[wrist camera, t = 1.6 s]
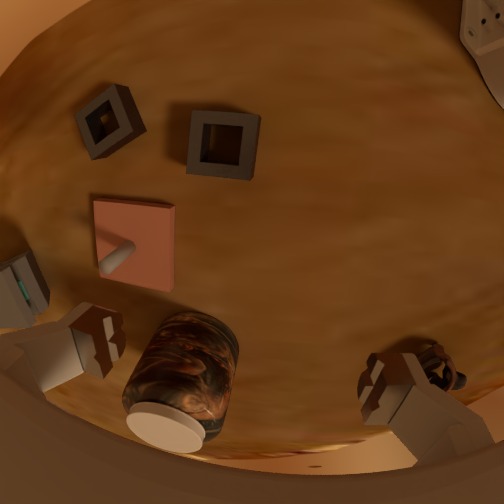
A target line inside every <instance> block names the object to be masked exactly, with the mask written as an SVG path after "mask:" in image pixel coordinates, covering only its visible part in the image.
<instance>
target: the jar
mask: <svg viewBox="0 0 504 504" xmlns="http://www.w3.org/2000/svg"><path fill="white" fill-rule="evenodd" d="M238 355H239V345H238V342H237V339H236V337H235V335H234V334H233V332H232V331H231V330H230V329H229V328H228V327H227V326H226V325H225V324H223V323H222V322H221V321H219V320H217V319H215V318H213V317H211V316H208V315H205V314H202V313H196V312H182V313H177V314H174V315H172V316H170V317H168V318H167V319H165V320H164V321H163V322H162V323H161V325H160V326H159V328H158V329H157V331H156V333H155V334H154V336H153V338H152V339H151V341H150V343H149V344H148V346H147V348H146V349H145V351H144V353H143V355H142V356H141V358H140V360H139V362H138V363H137V365H136V367H135V369H134V371H133V373H132V374H131V376H130V378H129V380H128V382H127V384H126V387H125V389H124V392H123V395H122V403H123V406H124V408H125V410H126V412H127V413H128V416H127V418H126V422H127V425H128V426H129V428H130V429H131V430H132V432H133V433H135V434H136V435H137V436H138V437H139V438H141V439H142V440H144V441H146V442H147V443H149V444H151V445H154V446H156V447H158V448H161V449H164V450H168V451H173V452H179V453H189V452H195V451H197V450H199V449H200V448H201V447H202V444H203V442H206V441H209V440H212V439H213V438H215V437H216V436H217V435H218V434H219V433H220V431H221V429H222V426H223V423H224V420H225V416H226V412H227V408H228V403H229V399H230V394H231V390H232V385H233V380H234V376H235V371H236V366H237V360H238Z"/></svg>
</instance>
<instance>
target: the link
mask: <svg viewBox="0 0 504 504" xmlns="http://www.w3.org/2000/svg"><path fill="white" fill-rule="evenodd" d="M260 122H261V117H260V116H259V115H255V114H245V113H234V112H221V111H202V110H192V116H191V125H190V134H189V144H188V155H187V168H186V174H194V175H205V176H214V177H223V178H232V179H240V180H248V181H251V179H252V178H253V177H254V169H255V162H256V154H257V146H258V138H259V130H260ZM211 125H219V126H232V127H242V128H243V133H242V142H241V150H240V158H239V163H236V162H226V161H217V160H208V152H209V142H210V133H211Z"/></svg>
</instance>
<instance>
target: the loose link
mask: <svg viewBox="0 0 504 504" xmlns="http://www.w3.org/2000/svg"><path fill="white" fill-rule="evenodd" d="M112 109H113V111H114V114H115V116H116V119H117V121H118V124H119V126H120V128H118V129H117V130H115V131H114V132H113V133H111V134H110V135H108V136H107V134H106V132H105V129H104V127H103V124H102V121H101V119H100V118H101V117H102V116H103V115H105V114H106V113H107V112H109V111H110V110H112ZM75 118H76V121H77V123H78V126H79V129H80V132H81V134H82V137H83V140H84V142H85V145H86V147H87V150H88V152H89V155H90V157H91V160H96V159H101V158H106V157H108V156H110V155H111V154H112V153H114V152H115V151H117V150H118V149H120V148H121V147H123V146H124V145H126V144H127V143H129V142H130V141H132V140H134V139H135V138H137V137H138V136H140V135H141V134H143V133H145V132H146V128H145V126H144V124H143V121H142V119H141V117H140V114H139V112H138V109H137V107H136V105H135V102H134V100H133V97H132V95H131V92H130V90H129V87H126V86H122V85H118V84H113V85H112V86H110V87H109V88H107V89H106V90H105V91H104V92H102V93H101V94H100V95H98V96H97V97H96V98H95V99H93V100H92V101H91V102H90V103H88V104H87V105H86V106H85V107H84V108H82V109H81V110H80V111H79V112H78V113H77V114H75Z"/></svg>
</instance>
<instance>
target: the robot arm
mask: <svg viewBox="0 0 504 504" xmlns="http://www.w3.org/2000/svg"><path fill="white" fill-rule="evenodd" d="M460 40H461V42H462V44H463V45H464V47H465V48H466V49H467V50H468V52H469V53H470V54H471V55H472V57H473V58H474V59H475V61H476V63H477V65H478V67H479V69H480V72H481V74H482V76H483V78H484V80H485V82H486V84H487V86H488V88H489V90H490V92H491V93H492V95H493V96H494V98H495V99H496V101H497V102H498V103H499V105H500V106H501V107H502V108H503V109H504V0H463V5H462V17H461V27H460ZM122 324H123V319H122V315H121V314H120V313H119V312H117V311H114V310H111V309H108V308H104V307H101V306H98V305H95V304H91V303H88V302H82V303H80V304H79V305H78V306H76V307H75V308H74V309H73V310H71V311H70V312H69V313H68V314H66V315H65V316H64V317H63V318H62V319H60V320H59V321H58V322H54V321H53V322H49V323H45V324H41V325H37V326H33V327H29V328H25V329H21V330H17V331H13V332H9V333H5V334H1V335H0V504H504V440H503V441H500V442H498V443H495V442H494V440H493V438H492V436H491V434H490V432H489V430H488V428H487V426H486V424H485V422H484V420H483V418H482V417H480V416H479V415H478V414H476V413H475V412H473V411H472V410H471V409H469V408H468V407H466V406H465V405H463V404H462V403H460V402H459V401H458V400H456V399H455V398H453V397H452V396H450V395H449V394H448V393H446V392H445V391H443V390H442V389H440V388H439V387H437V386H436V385H435V384H430V382H429V380H428V378H427V376H426V375H425V373H424V371H423V369H422V367H421V365H420V363H419V361H418V359H417V357H416V356H415V355H414V354H413V353H399V354H393V353H371V355H370V356H369V358H368V360H367V362H366V363H367V366H368V369H366V370H365V371H364V372H362V374H361V376H360V379H359V382H358V387H357V393H358V399H359V401H361V402H362V403H363V404H364V405H363V407H362V409H361V413H362V417H363V422H364V425H388V427H389V428H390V429H391V430H392V432H393V433H394V434H395V435H396V436H397V437H398V438H399V439H400V440H401V442H402V443H403V444H404V445H405V446H406V447H407V448H408V450H409V451H410V452H411V453H412V454H413V455H414V456H415V457H416V458H417V459H418V461H417V463H416V464H415V465H413V466H412V467H410V468H403V469H397V470H390V471H382V472H373V473H361V474H346V475H298V474H282V473H270V472H261V471H252V470H245V469H239V468H233V467H227V466H222V465H216V464H211V463H207V462H202V461H198V460H194V459H190V458H186V457H182V456H178V455H175V454H171V453H168V452H165V451H161V450H158V449H155V448H152V447H149V446H146V445H143V444H140V443H138V442H135V441H132V440H130V439H127V438H124V437H122V436H119V435H117V434H115V433H112V432H110V431H107V430H105V429H103V428H101V427H98V426H96V425H94V424H92V423H90V422H88V421H86V420H84V419H82V418H80V417H78V416H76V415H74V414H72V413H70V412H68V411H66V410H65V409H63V408H61V407H59V406H57V405H56V404H54V403H52V402H50V401H49V400H47V399H46V397H45V395H44V393H43V392H45V391H47V390H49V389H51V388H53V387H55V386H58V385H60V384H62V383H64V382H66V381H68V380H70V379H72V378H74V377H76V376H78V375H80V374H82V373H84V372H87V373H89V374H92V375H94V376H97V377H100V378H103V379H104V378H105V377H106V375H107V374H108V373H109V371H110V370H111V369H112V367H113V364H112V362H113V361H115V360H118V359H119V358H120V357H121V356H122V354H123V352H124V349H125V345H126V338H125V333H124V332H123V331H122V329H121V328H120V327H121V326H122Z"/></svg>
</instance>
